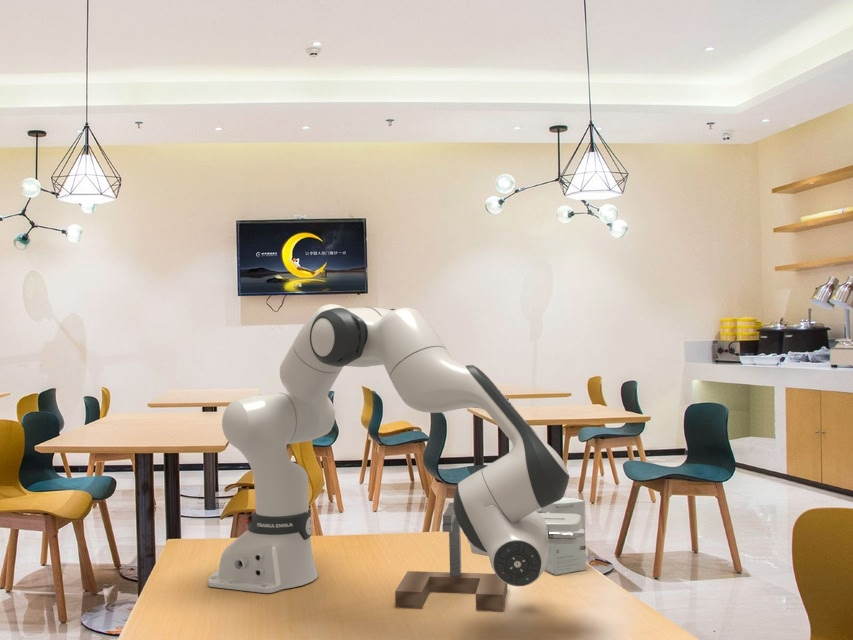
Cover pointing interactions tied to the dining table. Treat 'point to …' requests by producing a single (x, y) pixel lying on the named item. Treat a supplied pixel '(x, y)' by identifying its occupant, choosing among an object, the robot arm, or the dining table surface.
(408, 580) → the cutout shelf
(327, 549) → the dining table surface
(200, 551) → the dining table surface
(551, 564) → the skincare box
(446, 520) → the hook arm
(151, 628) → the dining table surface
